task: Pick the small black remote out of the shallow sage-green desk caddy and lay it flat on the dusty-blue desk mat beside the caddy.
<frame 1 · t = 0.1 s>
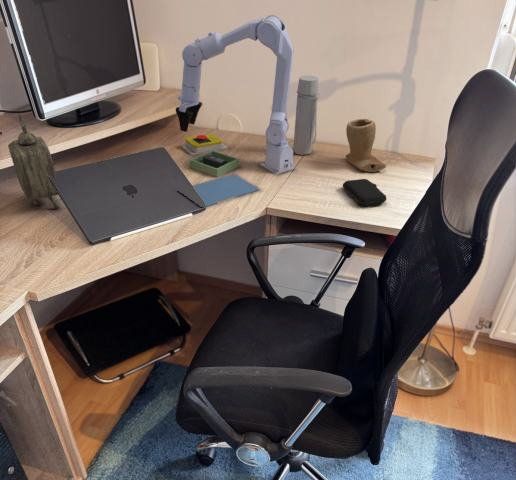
hand: (187, 127, 171), 10 cm above the table, tool pointing down, fingers open, 7 cm apart
caddy: (214, 168, 172), on the table
water bottle: (304, 153, 184), on the table
ribbed olive figurine: (43, 203, 149), on the table
emergency button: (204, 148, 185), on the table
remote: (214, 166, 171), resting on caddy
mat: (218, 190, 158), on the table
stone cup: (360, 166, 177), on the table
carrying case: (364, 197, 158), on the table
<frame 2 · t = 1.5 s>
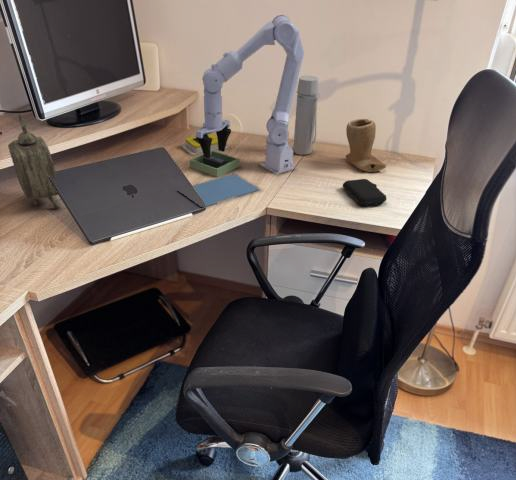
hand: (214, 154, 168), 5 cm above the table, tool pointing down, fingers open, 7 cm apart
nothing on the table moved.
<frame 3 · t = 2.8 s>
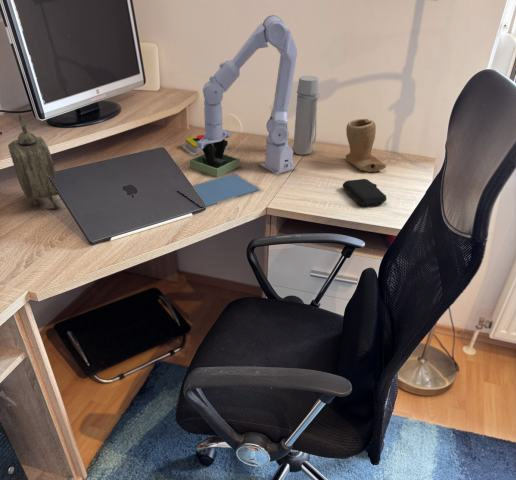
hand: (214, 163, 171), 1 cm above the table, tool pointing down, fingers closed on remote, 3 cm apart
remote: (214, 166, 171), resting on caddy, touching gripper
everything else where it was.
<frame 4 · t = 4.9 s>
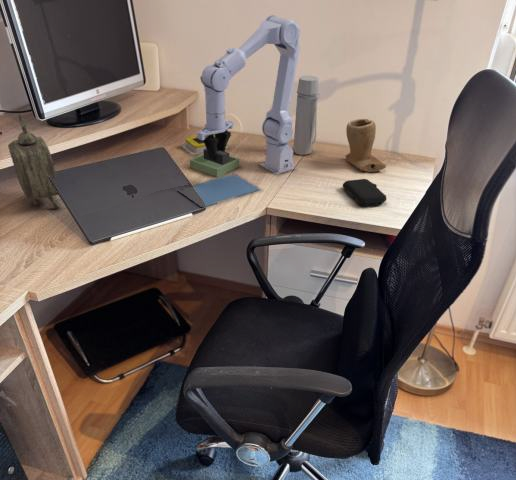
hand: (216, 157, 157), 8 cm above the table, tool pointing down, fingers closed on remote, 3 cm apart
remote: (216, 160, 158), point 7 cm above the table, touching gripper
everything else where it was.
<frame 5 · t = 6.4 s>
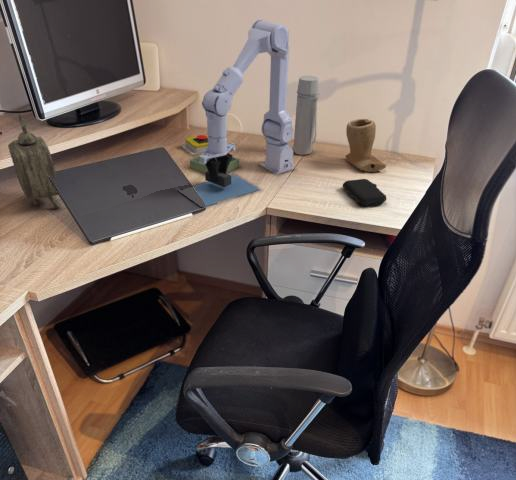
hand: (218, 179, 158), 3 cm above the table, tool pointing down, fingers closed on remote, 3 cm apart
remote: (218, 182, 158), point 2 cm above the table, touching gripper
everything else where it was.
when the fingers open (1 cm above the table, at t = 7.3 s): remote stays where it is, resting on mat.
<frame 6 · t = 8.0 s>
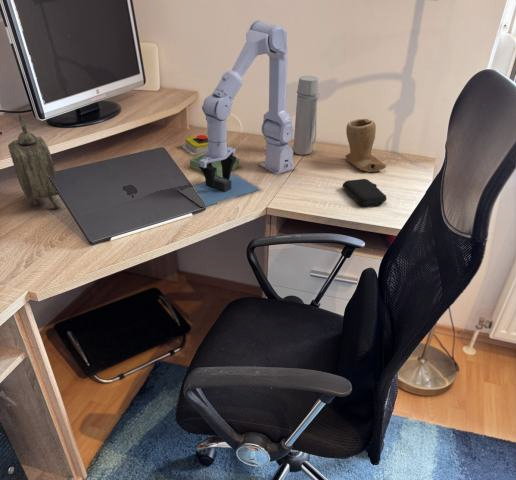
hand: (218, 182, 159), 2 cm above the table, tool pointing down, fingers open, 7 cm apart
remote: (218, 187, 160), resting on mat
everything else where it was.
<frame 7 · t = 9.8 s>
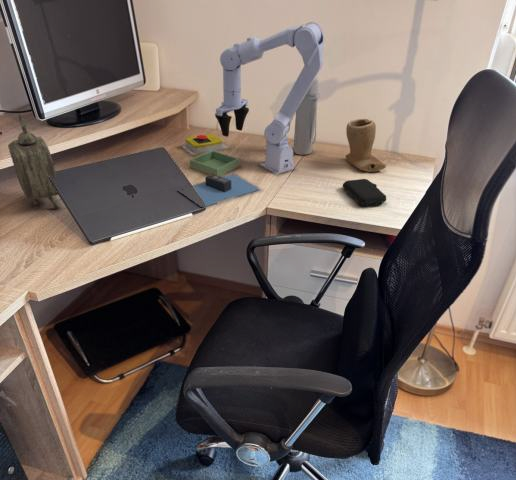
hand: (232, 132, 171), 9 cm above the table, tool pointing down, fingers open, 7 cm apart
nothing on the table moved.
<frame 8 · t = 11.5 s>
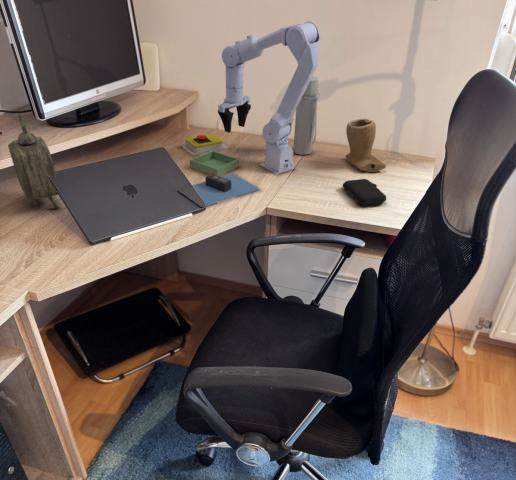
hand: (234, 129, 174), 9 cm above the table, tool pointing down, fingers open, 7 cm apart
nothing on the table moved.
at the end: remote inside the target area on the mat (1.7 cm from its centre), point 0.4 cm above the mat's base; remote tilted 0°; the gripper is holding nothing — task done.
